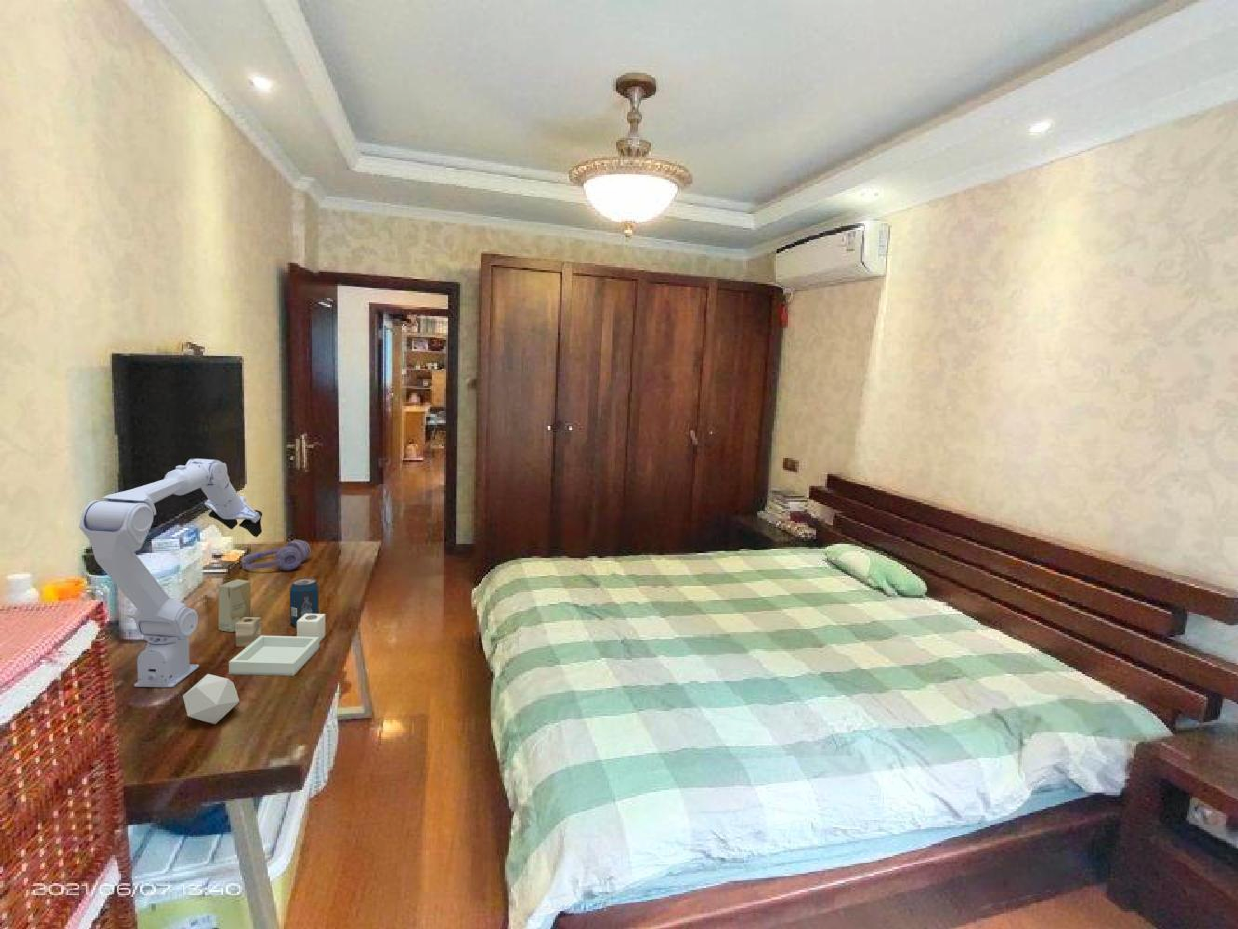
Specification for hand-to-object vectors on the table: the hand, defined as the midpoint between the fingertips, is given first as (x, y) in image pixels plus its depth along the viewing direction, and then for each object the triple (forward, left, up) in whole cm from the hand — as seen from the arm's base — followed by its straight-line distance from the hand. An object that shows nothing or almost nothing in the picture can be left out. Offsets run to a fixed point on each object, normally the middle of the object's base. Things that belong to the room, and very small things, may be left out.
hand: (246, 530), depth 155 cm
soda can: (+3, -13, -27) cm, 30 cm away
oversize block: (-7, -19, -26) cm, 34 cm away
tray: (-19, -16, -26) cm, 37 cm away
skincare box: (-1, +3, -27) cm, 27 cm away
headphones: (+50, +17, -27) cm, 59 cm away
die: (-43, -15, -27) cm, 53 cm away
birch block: (-10, -5, -26) cm, 29 cm away
